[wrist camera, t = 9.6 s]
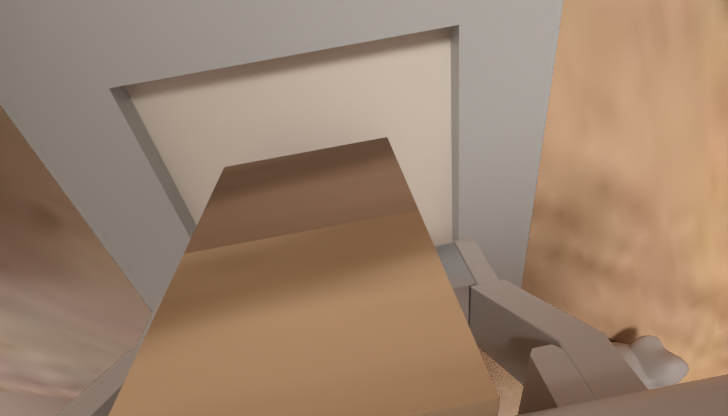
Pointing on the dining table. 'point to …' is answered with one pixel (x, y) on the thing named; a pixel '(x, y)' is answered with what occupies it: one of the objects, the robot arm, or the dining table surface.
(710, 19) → the dining table surface
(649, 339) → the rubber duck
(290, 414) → the light brown wooden block
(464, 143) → the grey picture frame
